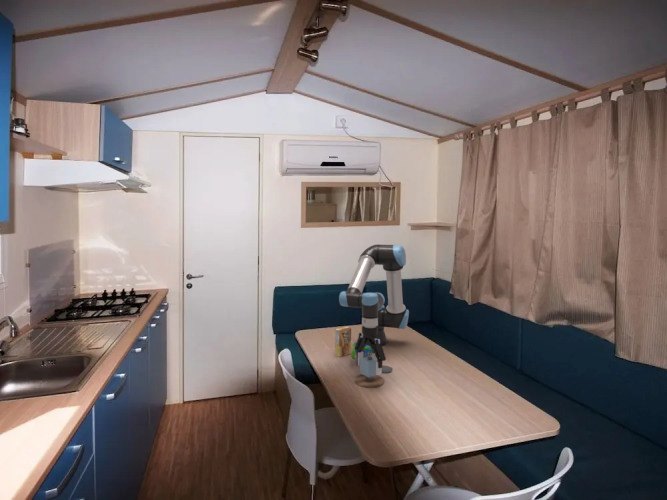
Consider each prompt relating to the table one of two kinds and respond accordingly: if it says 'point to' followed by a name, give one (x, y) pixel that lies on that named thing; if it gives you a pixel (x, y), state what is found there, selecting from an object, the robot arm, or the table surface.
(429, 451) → the table surface
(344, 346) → the candy box
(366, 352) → the snack cup
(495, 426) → the table surface
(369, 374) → the cube with round hole
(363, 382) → the post stand
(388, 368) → the coaster
